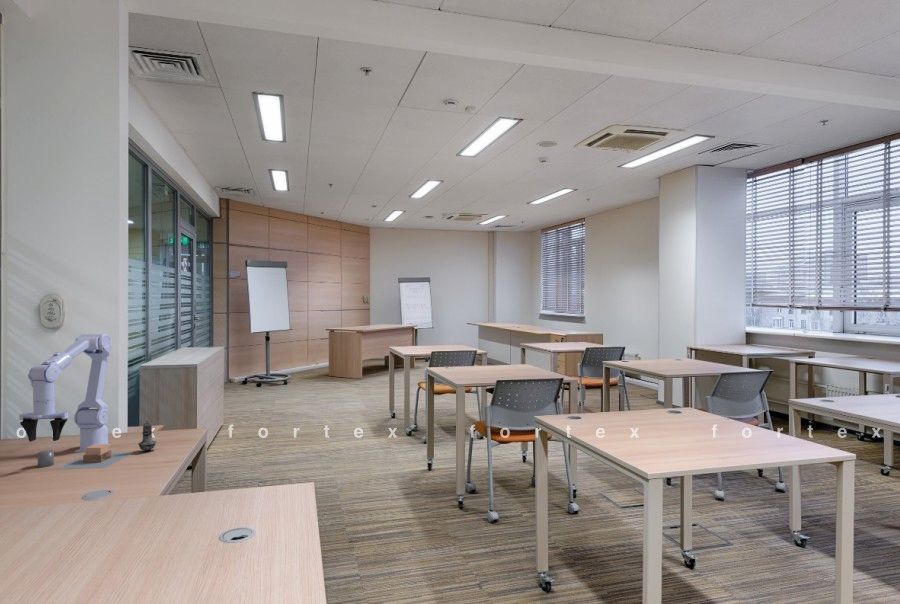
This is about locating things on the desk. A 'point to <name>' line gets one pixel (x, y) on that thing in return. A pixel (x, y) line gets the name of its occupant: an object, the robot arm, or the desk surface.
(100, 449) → the tower middle
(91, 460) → the tower base
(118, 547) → the desk surface
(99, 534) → the desk surface
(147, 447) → the salt shaker
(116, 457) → the mat
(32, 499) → the desk surface
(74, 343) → the robot arm
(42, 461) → the dark grey cylinder
